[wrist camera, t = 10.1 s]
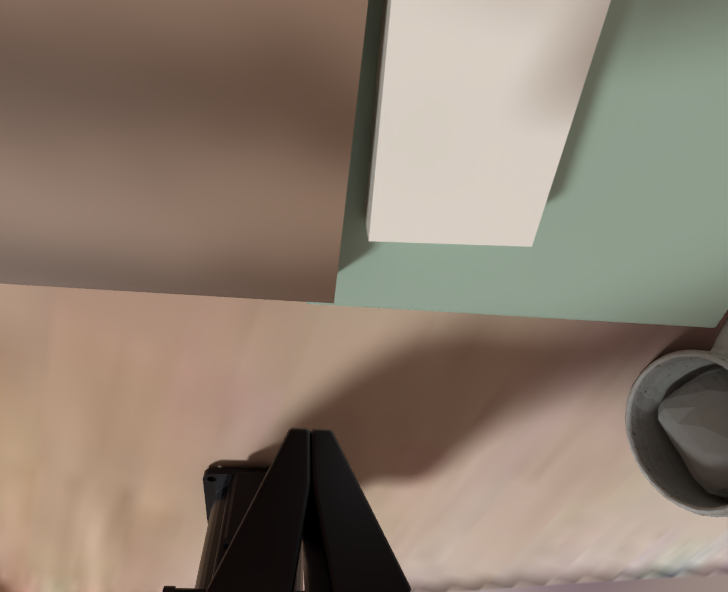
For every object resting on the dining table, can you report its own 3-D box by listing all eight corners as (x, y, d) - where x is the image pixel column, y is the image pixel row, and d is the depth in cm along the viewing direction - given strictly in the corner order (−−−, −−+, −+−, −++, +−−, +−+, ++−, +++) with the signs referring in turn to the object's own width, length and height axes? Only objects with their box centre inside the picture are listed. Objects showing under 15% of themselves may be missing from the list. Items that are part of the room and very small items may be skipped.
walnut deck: (332, 263, 20) (334, 303, 17) (-24, 237, 18) (-79, 278, 15) (374, -142, 13) (387, -172, 10) (-214, -258, 11) (-374, -331, 8)
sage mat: (701, 315, 23) (714, 327, 22) (307, 290, 20) (306, 303, 20) (972, -89, 14) (1012, -93, 14) (344, -229, 12) (346, -245, 11)
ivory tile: (512, 223, 18) (531, 246, 17) (364, 217, 18) (368, 241, 16) (581, -19, 14) (617, -20, 12) (385, -39, 13) (395, -42, 11)
